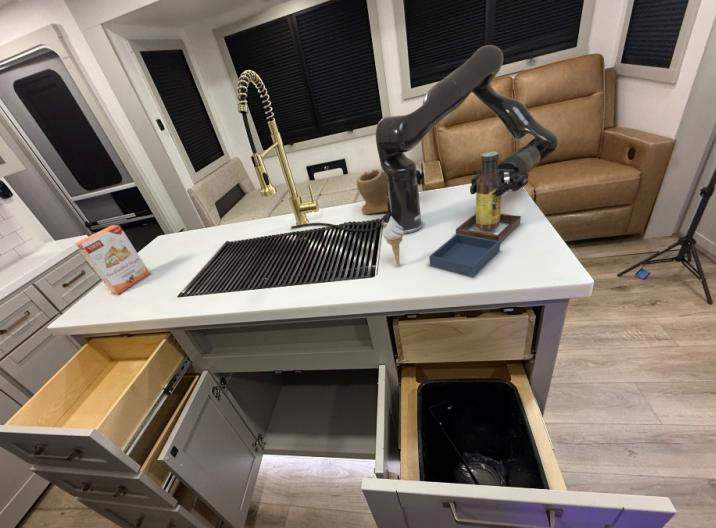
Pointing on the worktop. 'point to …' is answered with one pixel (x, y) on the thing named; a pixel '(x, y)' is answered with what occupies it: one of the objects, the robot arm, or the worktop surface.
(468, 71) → the robot arm
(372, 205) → the stone cup
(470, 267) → the slate tray
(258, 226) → the worktop surface
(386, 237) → the ice cream cone
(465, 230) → the walnut frame
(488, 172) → the sauce bottle
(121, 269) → the cracker box
